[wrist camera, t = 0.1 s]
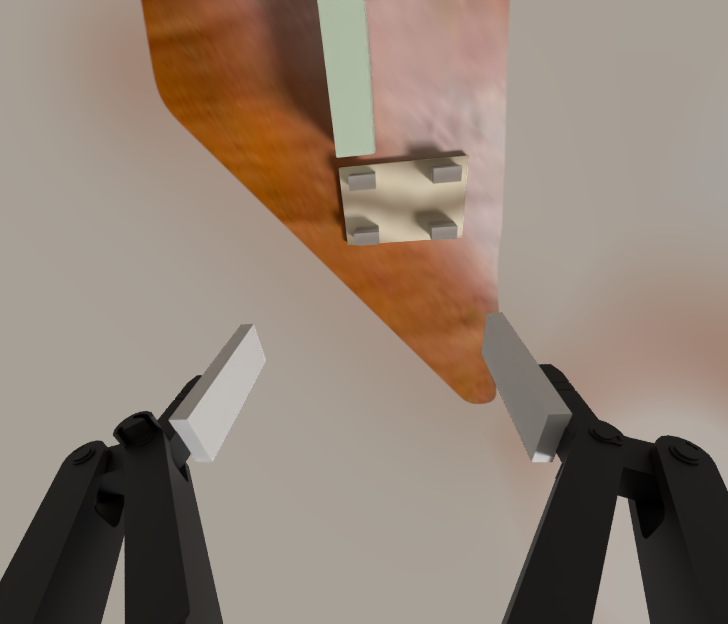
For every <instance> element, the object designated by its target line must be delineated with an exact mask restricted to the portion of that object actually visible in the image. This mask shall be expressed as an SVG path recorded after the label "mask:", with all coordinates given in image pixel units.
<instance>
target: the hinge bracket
mask: <svg viewBox="0 0 728 624" xmlns="http://www.w3.org/2000/svg"><path fill="white" fill-rule="evenodd" d="M468 160H469V155H463V156H453V157H442V158H432V159H422V160H412V161H401V162H391V163H381V164H370V165H360V166H350V167H340V168H339V175H340V184H341V192H342V200H343V208H344V216H345V225H346V233H347V241H348V245H355V246H360V245H374V244H379V243H387V242H401V241H415V240H429V239H431V240H444V239H457V237H462V231H463V219H464V207H465V195H466V184H467V172H468Z"/></svg>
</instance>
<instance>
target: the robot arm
mask: <svg viewBox="0 0 728 624" xmlns="http://www.w3.org/2000/svg"><path fill="white" fill-rule="evenodd" d="M481 354H482V356H483V358H484V360H485V362H486V365H487V367H488V369H489V371H490V373H491V375H492V378H493V380H494V382H495V384H496V386H497V388H498V391H499V393H500V395H501V397H502V399H503V401H504V403H505V406H506V408H507V410H508V412H509V414H510V417H511V419H512V421H513V422H514V425H515V427H516V429H517V431H518V434H519V436H520V438H521V440H522V442H523V445H524V447H525V449H526V451H527V453H528V455H529V458H530V460H531V462H553V459H554V457H555V455H556V453H557V455H558V457H559V458H560V460H561V462H562V464H561V466H560V469H559V471H558V473H557V475H556V478H555V479H556V480H555V483H554V485H553V488H552V491H551V493H550V496H549V499H548V501H547V504H546V506H545V509H544V512H543V514H542V517H541V520H540V523H539V525H538V528H537V530H536V533H535V536H534V539H533V541H532V544H531V547H530V549H529V552H528V554H527V557H526V560H525V563H524V565H523V568H522V570H521V573H520V576H519V578H518V581H517V584H516V587H515V589H514V592H513V594H512V597H511V600H510V603H509V605H508V608H507V610H506V613H505V616H504V619H503V621H502V624H592V620H593V615H594V610H595V605H596V600H597V595H598V590H599V585H600V580H601V575H602V570H603V565H604V560H605V555H606V550H607V545H608V540H609V535H610V530H611V525H612V520H613V515H614V510H615V505H616V500H617V495H618V496H622V497H625V498H628V503H629V509H630V514H631V519H632V525H633V531H634V536H635V542H636V547H637V553H638V558H639V563H640V569H641V575H642V580H643V586H644V592H645V597H646V603H647V608H648V613H649V619H650V624H728V491H727V488H726V486H725V484H724V482H723V480H722V478H721V475H720V473H719V471H718V469H717V466H716V464H715V462H714V461H713V460H712V458H711V457H710V455H709V454H707V453H706V452H705V451H704V450H703V449H701V448H700V447H698V446H697V445H695V444H693V443H691V442H690V441H687V440H685V439H682V438H679V437H674V436H669V435H667V436H661V437H660V438H658V439H657V440H656V442H655V443H651V442H646V441H642V440H638V439H634V438H629V437H626V436H624V435H623V434H622V433H621V432H620V431H619V430H618V429H617V428H615V427H614V426H612V425H610V424H609V423H607V422H604V421H601V420H599V419H598V418H597V417H596V416H595V414H594V413H593V412H592V411H591V409H590V408H589V407H588V405H587V404H586V403H585V401H584V400H583V399H582V398H581V396H580V395H579V394H578V393H577V391H575V389H574V387H573V386H572V385H571V383H569V381H568V379H567V378H566V377H565V375H564V374H563V373H562V372H561V371H559V370H558V369H557V368H555V367H554V366H553V365H551V364H540V365H538V364H537V362H536V361H535V359H534V358H533V356H532V355H531V354H530V353H529V351H528V349H527V348H526V346H525V345H524V343H523V342H522V340H521V339H520V338H519V336H518V335H517V333H516V332H515V331H514V329H513V328H512V326H511V325H510V323H509V322H508V320H507V319H506V317H505V316H504V314H503V313H487V319H486V325H485V332H484V338H483V345H482V352H481ZM265 362H266V359H265V356H264V353H263V350H262V347H261V344H260V341H259V338H258V336H257V333H256V330H255V327H254V324H245V325H240V327H239V328H238V330H237V331H236V332H235V334H234V335H233V336H232V337H231V339H230V340H229V341H228V342H227V344H226V345H225V346H224V348H223V349H222V350H221V352H220V353H219V354H218V356H217V357H216V358H215V360H214V361H213V362H212V364H211V365H210V366H209V367H208V369H207V370H206V371H205V373H204V374H203V375H197V376H196V377H195V378H193V379H192V380H191V381H189V382H188V383H187V384H186V386H185V387H184V388H183V389H182V391H181V393H179V394H178V395H177V397H176V398H175V400H174V401H173V402H172V403H171V404H170V405H169V407H168V408H167V409H166V410H165V412H164V413H163V414H162V415H161V417H160V418H159V419H158V420H156V418H155V417H154V415H153V414H152V412H148V411H143V412H139V413H136V414H133V415H131V416H129V417H128V418H126V419H125V420H123V421H122V422H121V423H120V424H119V425H118V426H117V427H116V429H115V430H114V433H113V436H114V437H115V438H116V439H117V441H118V442H119V443H120V444H118V445H115V446H111V447H107V446H106V445H105V444H104V443H103V442H102V441H93V442H89V443H87V444H85V445H82V446H81V447H79V448H77V449H76V450H75V451H73V452H72V453H71V454H70V455H69V456H68V457H67V458H66V459H65V461H64V462H63V463H62V465H61V467H60V469H59V471H58V473H57V475H56V476H55V478H54V480H53V482H52V484H51V486H50V488H49V490H48V492H47V494H46V496H45V497H44V499H43V501H42V503H41V505H40V507H39V509H38V511H37V513H36V515H35V517H34V518H33V520H32V522H31V524H30V526H29V528H28V530H27V532H26V533H25V536H24V537H23V539H22V541H21V543H20V545H19V547H18V549H17V551H16V553H15V554H14V556H13V558H12V560H11V562H10V564H9V566H8V568H7V570H6V571H5V573H4V575H3V577H2V579H1V581H0V624H101V622H102V618H103V614H104V610H105V607H106V603H107V599H108V595H109V591H110V588H111V584H112V580H113V576H114V572H115V569H116V565H117V561H118V557H119V553H120V550H121V545H122V542H123V538H124V534H125V624H223V620H222V616H221V612H220V607H219V602H218V598H217V593H216V589H215V584H214V580H213V575H212V570H211V566H210V561H209V557H208V552H207V548H206V543H205V538H204V534H203V529H202V525H201V520H200V516H199V511H198V507H197V502H196V498H195V493H194V488H193V484H192V480H191V475H190V470H189V466H188V465H187V463H186V460H187V459H188V458H189V456H190V454H191V455H192V456H193V458H194V460H195V461H196V462H213V461H214V459H215V457H216V455H217V453H218V451H219V449H220V447H221V445H222V443H223V442H224V440H225V438H226V436H227V434H228V432H229V430H230V428H231V426H232V425H233V423H234V421H235V418H236V417H237V415H238V413H239V411H240V409H241V407H242V405H243V404H244V402H245V400H246V398H247V396H248V394H249V392H250V390H251V388H252V387H253V385H254V383H255V381H256V379H257V377H258V375H259V373H260V371H261V369H262V368H263V366H264V364H265Z"/></svg>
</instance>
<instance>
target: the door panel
mask: <svg viewBox="0 0 728 624" xmlns="http://www.w3.org/2000/svg"><path fill="white" fill-rule="evenodd" d="M317 2H318V10H319V18H320V27H321V35H322V43H323V51H324V59H325V67H326V75H327V84H328V92H329V100H330V108H331V116H332V124H333V132H334V141H335V149H336V157H337V158H339V157H349V156H359V155H369V154H374V153H375V151H376V144H375V127H374V111H373V94H372V77H371V61H370V44H369V30H368V22H367V14H366V7H365V0H317Z"/></svg>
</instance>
